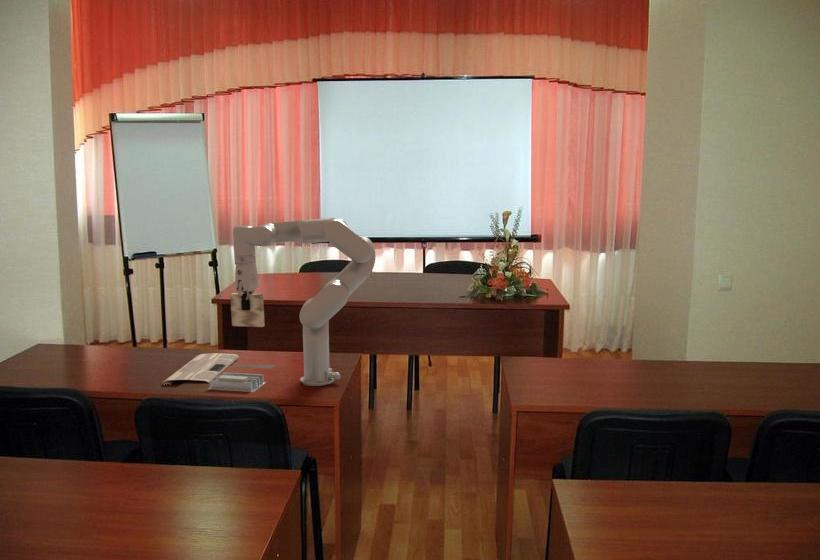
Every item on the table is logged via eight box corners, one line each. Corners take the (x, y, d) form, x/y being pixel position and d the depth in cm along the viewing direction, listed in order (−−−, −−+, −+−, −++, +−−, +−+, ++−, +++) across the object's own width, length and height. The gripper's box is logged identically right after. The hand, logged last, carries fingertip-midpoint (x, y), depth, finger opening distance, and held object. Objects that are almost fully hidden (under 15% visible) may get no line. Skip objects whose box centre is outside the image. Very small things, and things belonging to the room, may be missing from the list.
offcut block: (248, 387, 272) (248, 376, 271) (244, 389, 269) (244, 379, 268) (222, 385, 274) (222, 375, 273) (219, 388, 271) (218, 377, 271)
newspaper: (209, 387, 278) (208, 379, 278) (158, 386, 279) (157, 379, 279) (238, 359, 314) (238, 353, 314) (193, 359, 316) (193, 353, 315)
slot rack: (267, 384, 279) (266, 374, 278) (253, 394, 267) (253, 383, 266) (222, 381, 282) (221, 371, 282) (207, 391, 271) (206, 380, 270)
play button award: (218, 379, 282) (235, 364, 302) (218, 383, 283) (235, 368, 302) (260, 380, 281) (274, 365, 301) (260, 384, 281) (274, 368, 301)
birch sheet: (264, 325, 277) (263, 293, 275) (262, 327, 275) (260, 294, 273) (234, 324, 280) (232, 292, 278) (232, 325, 278) (230, 294, 276)
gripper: (245, 263, 265) (247, 314, 268) (263, 256, 280) (265, 305, 283) (225, 262, 266) (228, 313, 269) (244, 256, 282) (247, 304, 285)
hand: (247, 309), depth 276 cm, fingers closed on birch sheet, 2 cm apart
